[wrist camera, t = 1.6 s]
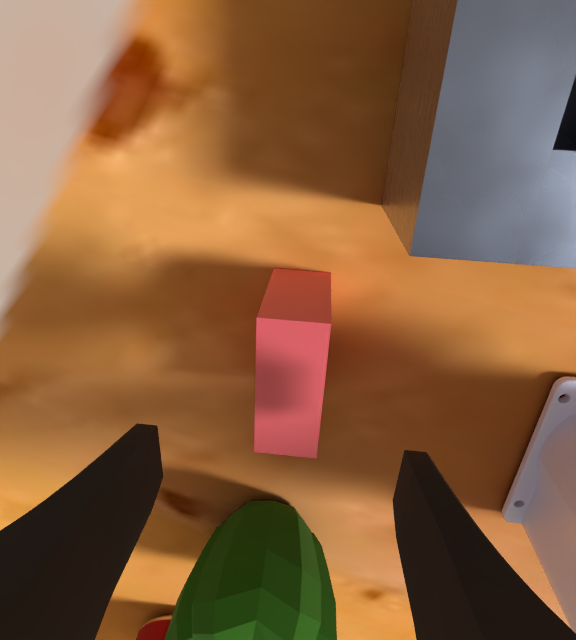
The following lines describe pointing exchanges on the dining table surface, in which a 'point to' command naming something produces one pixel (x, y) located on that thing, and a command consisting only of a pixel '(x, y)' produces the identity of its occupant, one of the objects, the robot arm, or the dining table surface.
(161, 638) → the soda can
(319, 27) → the dining table surface
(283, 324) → the pink flat block
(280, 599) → the bell pepper
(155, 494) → the robot arm
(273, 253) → the dining table surface
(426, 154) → the grey box with slot
